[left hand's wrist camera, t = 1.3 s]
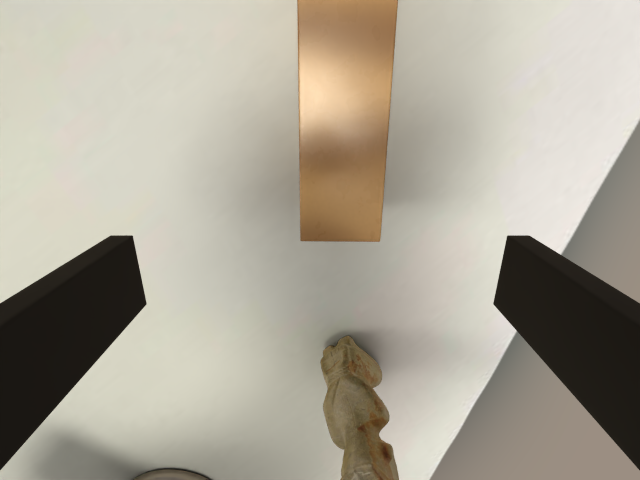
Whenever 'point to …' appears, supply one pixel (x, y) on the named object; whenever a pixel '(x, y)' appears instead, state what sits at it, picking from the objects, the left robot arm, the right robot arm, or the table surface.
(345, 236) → the bar
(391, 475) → the sculpture
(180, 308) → the table surface
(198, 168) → the table surface
